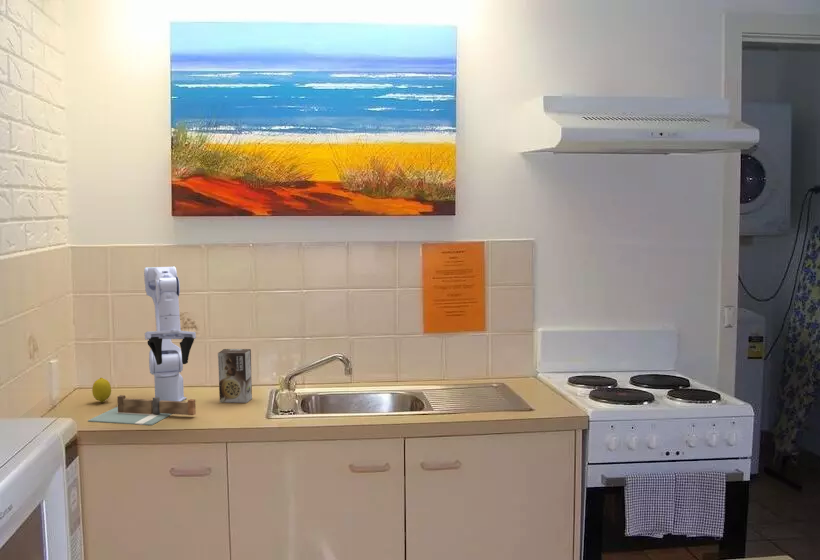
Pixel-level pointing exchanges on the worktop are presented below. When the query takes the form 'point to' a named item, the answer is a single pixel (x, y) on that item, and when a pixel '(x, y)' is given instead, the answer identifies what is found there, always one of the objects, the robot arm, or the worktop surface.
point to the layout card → (128, 417)
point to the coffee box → (235, 375)
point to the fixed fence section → (138, 405)
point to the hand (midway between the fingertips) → (172, 363)
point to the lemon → (101, 390)
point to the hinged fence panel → (178, 407)
